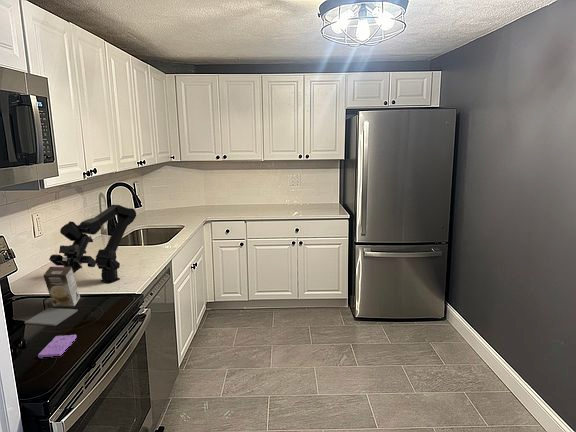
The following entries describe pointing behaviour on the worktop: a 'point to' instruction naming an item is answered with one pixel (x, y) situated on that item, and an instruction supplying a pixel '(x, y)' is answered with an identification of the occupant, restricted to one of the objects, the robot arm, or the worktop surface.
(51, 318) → the tipping mat
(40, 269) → the worktop surface
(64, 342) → the sponges
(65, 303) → the coffee box
